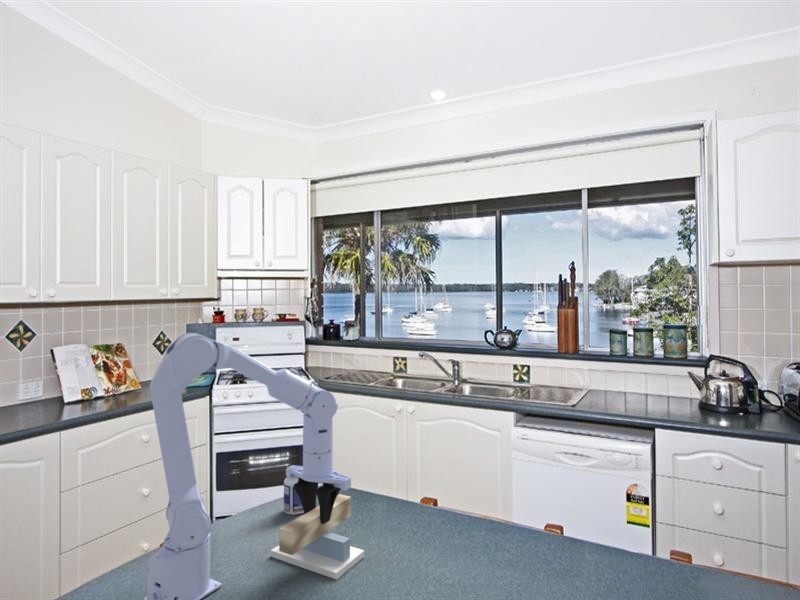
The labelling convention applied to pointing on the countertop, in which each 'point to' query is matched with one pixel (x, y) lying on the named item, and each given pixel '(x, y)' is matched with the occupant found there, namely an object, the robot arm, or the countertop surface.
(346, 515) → the beam
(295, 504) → the pill bottle
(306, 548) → the ridge stand
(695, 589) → the countertop surface
